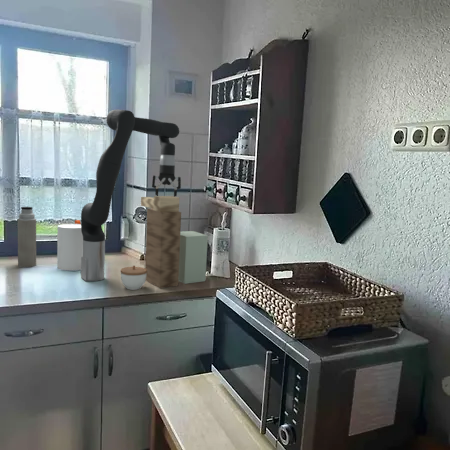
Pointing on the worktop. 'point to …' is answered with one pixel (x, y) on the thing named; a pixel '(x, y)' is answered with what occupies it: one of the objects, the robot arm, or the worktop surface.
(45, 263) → the worktop surface
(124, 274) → the lidded jar
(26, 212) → the thermos bottle
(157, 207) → the wooden block
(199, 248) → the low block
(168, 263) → the tall box
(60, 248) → the canister
